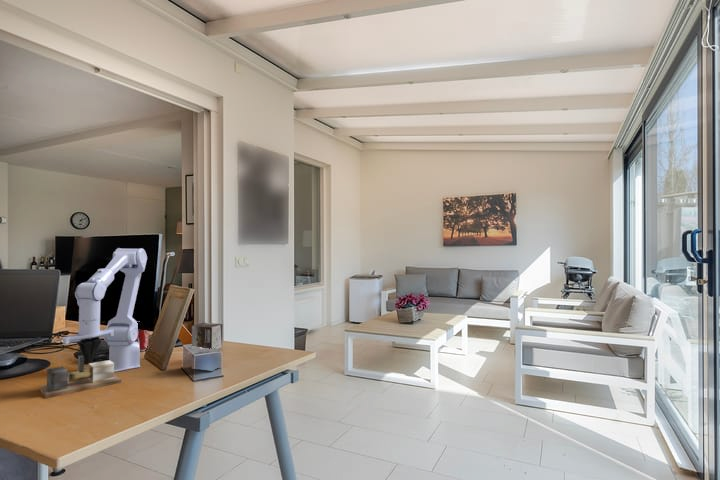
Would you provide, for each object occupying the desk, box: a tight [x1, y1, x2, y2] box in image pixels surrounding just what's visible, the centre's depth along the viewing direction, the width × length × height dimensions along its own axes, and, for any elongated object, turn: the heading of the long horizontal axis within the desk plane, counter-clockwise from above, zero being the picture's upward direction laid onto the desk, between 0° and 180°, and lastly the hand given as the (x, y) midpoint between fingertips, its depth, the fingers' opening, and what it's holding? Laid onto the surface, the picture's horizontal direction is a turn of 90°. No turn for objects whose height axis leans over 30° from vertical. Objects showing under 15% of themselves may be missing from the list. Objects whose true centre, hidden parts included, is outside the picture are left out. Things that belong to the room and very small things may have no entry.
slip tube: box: [67, 354, 93, 382], centre depth 134 cm, size 9×3×7 cm, turn 137°
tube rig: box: [38, 360, 122, 399], centre depth 133 cm, size 20×10×6 cm, turn 137°
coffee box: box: [191, 322, 224, 356], centre depth 154 cm, size 9×6×16 cm
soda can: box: [134, 329, 150, 352], centre depth 178 cm, size 5×5×12 cm
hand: (88, 362), depth 135 cm, fingers closed
